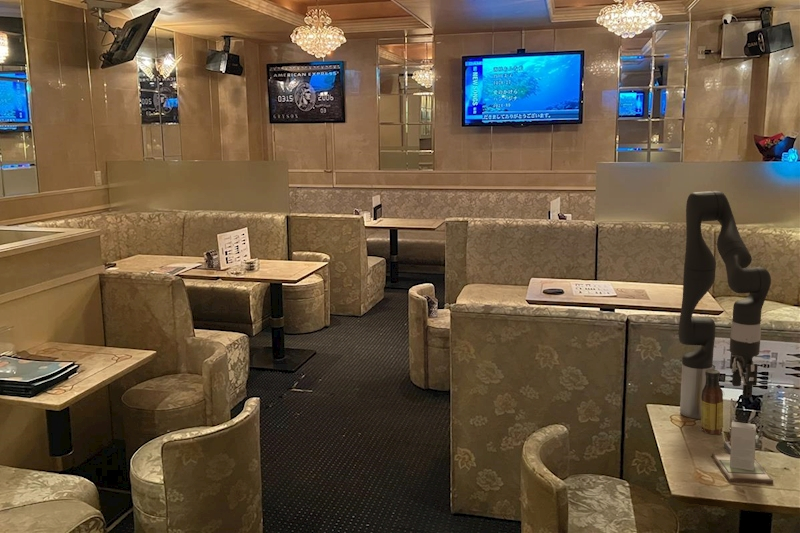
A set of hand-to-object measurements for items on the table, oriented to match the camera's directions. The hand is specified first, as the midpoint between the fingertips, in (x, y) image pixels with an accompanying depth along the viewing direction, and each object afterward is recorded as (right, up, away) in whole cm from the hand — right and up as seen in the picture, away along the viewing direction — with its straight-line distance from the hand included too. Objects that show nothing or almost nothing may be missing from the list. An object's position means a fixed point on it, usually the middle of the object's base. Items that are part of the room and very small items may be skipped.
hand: (741, 391), depth 190 cm
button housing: (+1, -19, +4) cm, 19 cm away
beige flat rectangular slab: (-3, -21, -6) cm, 22 cm away
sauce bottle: (0, -16, +19) cm, 25 cm away
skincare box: (-3, -20, -6) cm, 21 cm away
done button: (+1, -17, +4) cm, 18 cm away
